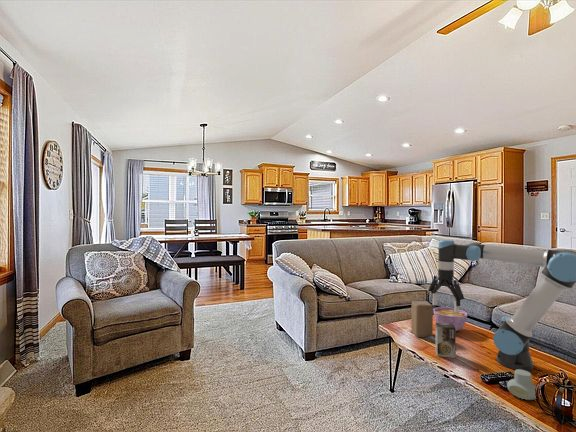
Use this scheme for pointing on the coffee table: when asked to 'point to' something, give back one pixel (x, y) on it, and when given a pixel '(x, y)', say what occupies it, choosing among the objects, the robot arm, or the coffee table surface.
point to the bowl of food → (450, 317)
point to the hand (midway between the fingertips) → (445, 308)
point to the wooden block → (422, 319)
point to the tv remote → (430, 338)
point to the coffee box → (445, 340)
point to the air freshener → (522, 385)
